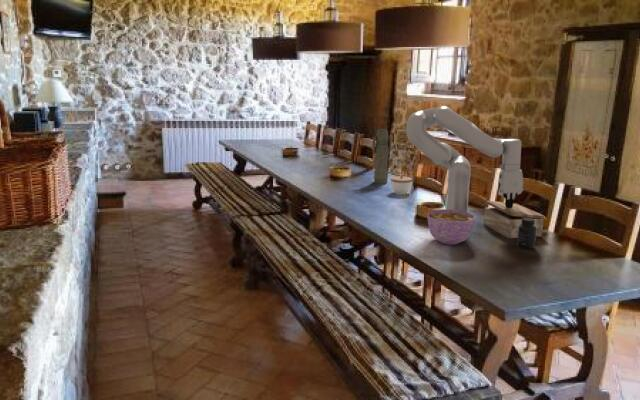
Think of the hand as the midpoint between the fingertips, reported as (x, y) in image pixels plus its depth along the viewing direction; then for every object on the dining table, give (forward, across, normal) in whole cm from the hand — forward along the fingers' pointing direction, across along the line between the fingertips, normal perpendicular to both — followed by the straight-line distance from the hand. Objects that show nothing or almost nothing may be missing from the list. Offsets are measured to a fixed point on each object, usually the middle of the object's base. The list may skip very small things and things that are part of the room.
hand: (508, 207), depth 226 cm
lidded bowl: (+9, -24, +80) cm, 84 cm away
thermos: (+8, -26, +112) cm, 115 cm away
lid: (+2, +3, +1) cm, 3 cm away
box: (+11, +2, +1) cm, 11 cm away
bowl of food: (+10, -33, -10) cm, 36 cm away
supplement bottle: (+11, -5, -22) cm, 26 cm away
